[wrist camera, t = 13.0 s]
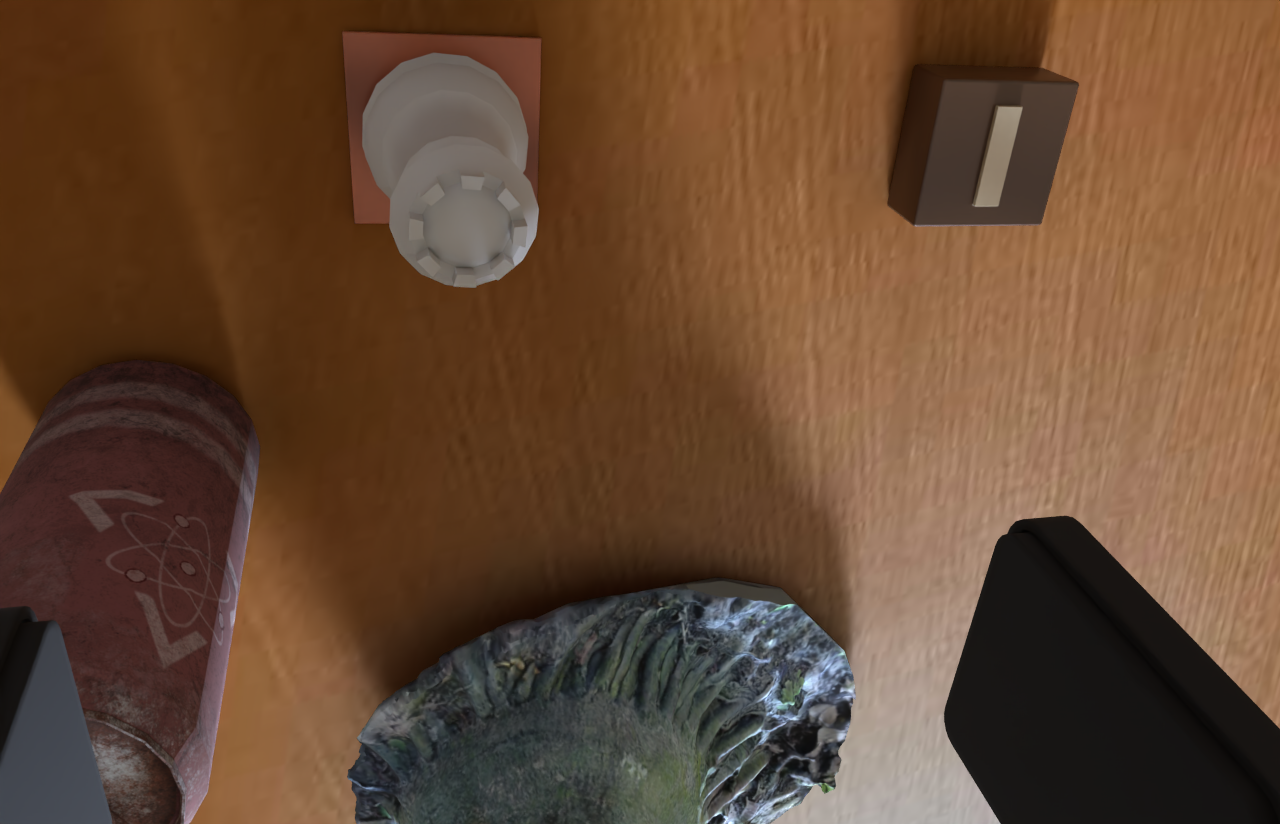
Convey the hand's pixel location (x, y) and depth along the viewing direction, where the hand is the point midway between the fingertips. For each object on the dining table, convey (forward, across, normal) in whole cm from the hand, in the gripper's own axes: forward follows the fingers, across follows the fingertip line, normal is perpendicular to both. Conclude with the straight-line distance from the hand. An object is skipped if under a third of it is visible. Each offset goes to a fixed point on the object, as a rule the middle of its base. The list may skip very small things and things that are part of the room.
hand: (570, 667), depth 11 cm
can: (+22, +9, +10) cm, 26 cm away
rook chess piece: (+22, 0, +1) cm, 22 cm away
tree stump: (+22, -6, +25) cm, 34 cm away
